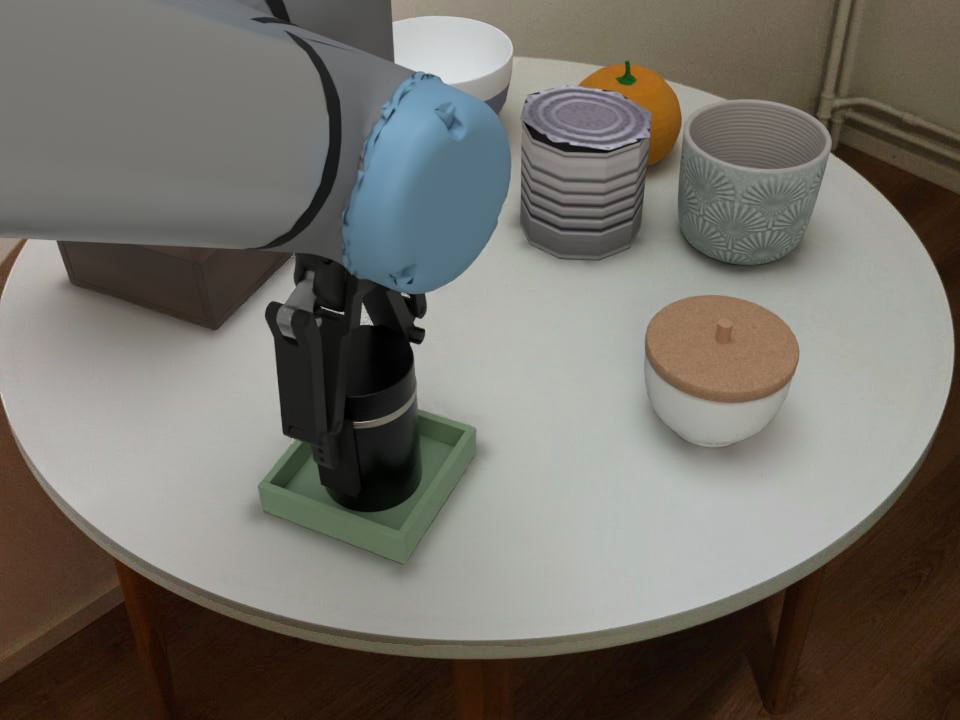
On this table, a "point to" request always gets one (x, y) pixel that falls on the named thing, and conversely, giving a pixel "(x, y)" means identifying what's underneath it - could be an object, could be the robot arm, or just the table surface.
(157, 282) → the chest
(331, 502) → the tray
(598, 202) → the can
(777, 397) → the trinket box
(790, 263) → the table surface
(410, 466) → the black canister
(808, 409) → the table surface
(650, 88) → the fruit
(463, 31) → the bowl
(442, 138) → the robot arm
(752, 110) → the planter
